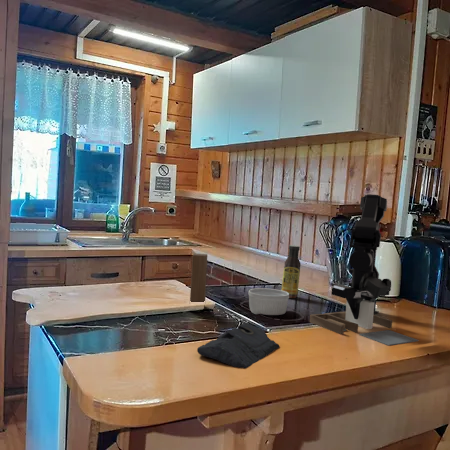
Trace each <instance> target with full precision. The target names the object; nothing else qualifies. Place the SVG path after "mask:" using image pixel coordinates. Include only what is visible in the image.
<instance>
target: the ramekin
mask: <svg viewBox="0 0 450 450" xmlns="http://www.w3.org/2000/svg"><path fill="white" fill-rule="evenodd" d="M289 299H290V298H289V293H288V292H285V291H282V289H275V288H268V287H267V288H263V287H262V288H258V287H257V288H251V289H249V290H248V301H249V302H248V305H249V310H250V311H251V313H252V314H254V315H259V314H260V315H264V316H265V315H266V316H279V315H284V314H285V313H286V312H287V307H288V303H289Z"/></svg>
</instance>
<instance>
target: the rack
mask: <svg viewBox="0 0 450 450" xmlns="http://www.w3.org/2000/svg"><path fill="white" fill-rule="evenodd" d="M345 317H346V310H345V311H337V312H336V311H335V312H326V313H316V314H315V313H314V314H310V315H309V323H311V324H314V325H315V326H317V327H321V328H322V329H326V330H328V331H330V332H334V333H336V334H339V335H344V332H345V331H344V326H342V325H340V324H337V323H334V322H332V321H329V320H326V319H332V320H335V321H338V322H340V323H343V324H345V329H346V331H349V332H353V333H356V334H357V333H358V331H359V326H358V324H356V323H353V322H350V321H347V320H345ZM373 324H375V325H378V326H381V327H384V328H387V329H392V327H393V319H392V320H391V319H388V318H386V317H382V316H380V315H376V314H373Z"/></svg>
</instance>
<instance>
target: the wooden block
mask: <svg viewBox="0 0 450 450" xmlns="http://www.w3.org/2000/svg"><path fill="white" fill-rule="evenodd" d="M191 258H192V259H191V260H192V261H191V278H190V292H189V293H190V294H189V302H190V301H191V302H204V301H205V302H206V297H207V296H206V289H207V288H206V285H207V272H208V271H207V270H208V269H207V268H208V254H207V253H197V252H196V253H193V254H192V256H191Z"/></svg>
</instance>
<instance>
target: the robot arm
mask: <svg viewBox="0 0 450 450" xmlns="http://www.w3.org/2000/svg"><path fill="white" fill-rule="evenodd" d="M359 209H360V210H361V211H362V212H361V218H360V219H359V220H357V221H355V224H354V227H353V228H352V230H351V233H350V240H349V248H350V249H354V251H353V253H352V254H351V255H350V257H349V258H348V259H349V265H350V267H351V268H350V269H349V273H350V274H351V282H348V285H345V284H337V285H336V284H335V285H333V286H332V287H331V295H333V296H336V297H339V298H342V299H345V300H346V303H347V302H348V304H349V306H350V309H351V311H352V314H353V316H354V319H358V316H359V309H360V303H361V301H362V300H363V299H364V300H368V301H371V302H374V314H379V313H380V312H379V311H378V310H376V308H377V307H376V306H377V299H379V297H383V298H384V297H385V296H390V292H392V280H391V279H390V278H383V279H381V278H380V273H379V270H378V269H377V267H376V258H377V257H376V256H377V250H378V248H380V246H381V238H382V233H381V232H380V230H379V226H380V225H379V224H380V223H381V221H382V220H383V218H384V217H385V212H387V210H388V199H387V198H385V197H383V196H381V195H380V194H373V193H372V194H370V193H368V194H365V195H364V196H362V197H361V198H360V205H359Z"/></svg>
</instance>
